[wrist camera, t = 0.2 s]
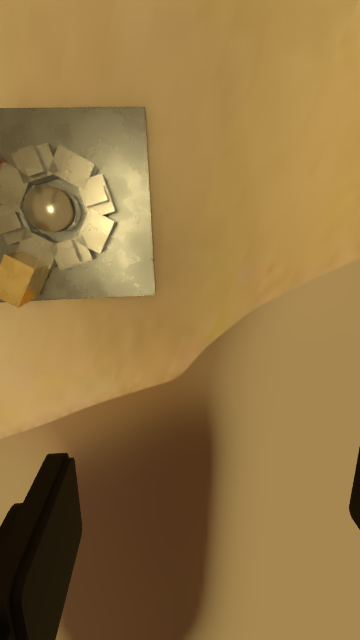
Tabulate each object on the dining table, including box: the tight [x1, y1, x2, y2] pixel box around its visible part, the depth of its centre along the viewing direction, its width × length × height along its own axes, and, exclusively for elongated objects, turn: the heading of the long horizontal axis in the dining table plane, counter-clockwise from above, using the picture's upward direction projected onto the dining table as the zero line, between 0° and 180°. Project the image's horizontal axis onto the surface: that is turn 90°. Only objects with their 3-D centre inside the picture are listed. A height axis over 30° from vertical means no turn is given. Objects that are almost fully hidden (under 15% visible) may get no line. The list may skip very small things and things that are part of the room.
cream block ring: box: [0, 142, 117, 308], centre depth 32 cm, size 16×12×6 cm
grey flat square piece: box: [0, 107, 155, 302], centre depth 33 cm, size 20×20×6 cm
